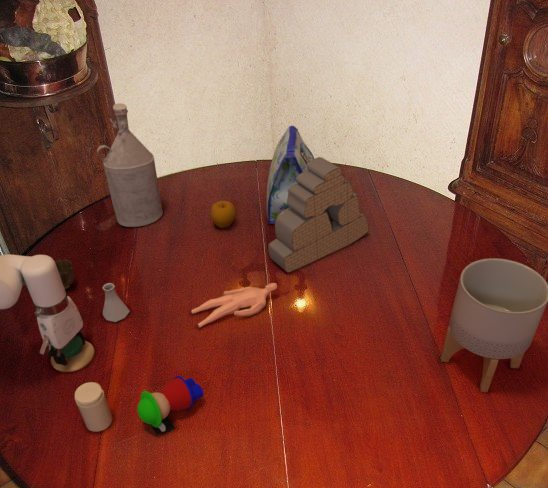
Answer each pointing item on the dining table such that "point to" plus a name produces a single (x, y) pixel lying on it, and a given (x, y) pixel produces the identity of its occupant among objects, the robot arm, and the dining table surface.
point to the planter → (495, 313)
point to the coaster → (76, 360)
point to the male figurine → (236, 303)
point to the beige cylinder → (93, 406)
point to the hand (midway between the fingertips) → (70, 352)
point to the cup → (65, 273)
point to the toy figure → (168, 403)
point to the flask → (113, 305)
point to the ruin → (317, 217)
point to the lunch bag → (285, 171)
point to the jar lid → (72, 347)
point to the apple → (223, 213)
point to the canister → (131, 176)
